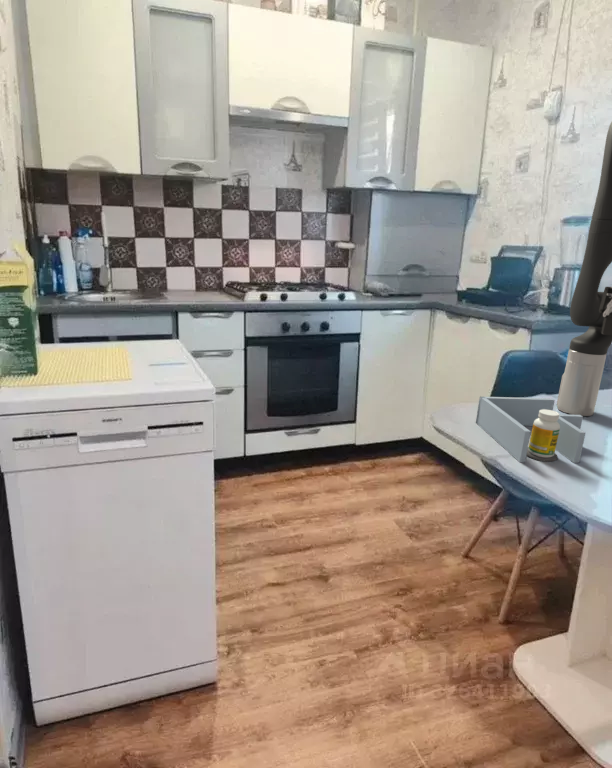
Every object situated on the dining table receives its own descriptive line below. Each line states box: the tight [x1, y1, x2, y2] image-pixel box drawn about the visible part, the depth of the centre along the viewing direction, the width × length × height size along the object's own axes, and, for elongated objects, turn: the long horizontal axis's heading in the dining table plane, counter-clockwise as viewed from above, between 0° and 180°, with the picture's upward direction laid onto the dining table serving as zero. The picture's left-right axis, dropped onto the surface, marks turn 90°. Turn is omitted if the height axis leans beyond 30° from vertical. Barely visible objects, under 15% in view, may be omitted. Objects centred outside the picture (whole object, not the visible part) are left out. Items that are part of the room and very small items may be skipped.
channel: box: [475, 396, 586, 464], centre depth 126 cm, size 24×19×7 cm
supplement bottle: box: [528, 409, 560, 458], centre depth 118 cm, size 5×5×10 cm
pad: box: [526, 446, 558, 463], centre depth 119 cm, size 7×7×1 cm
